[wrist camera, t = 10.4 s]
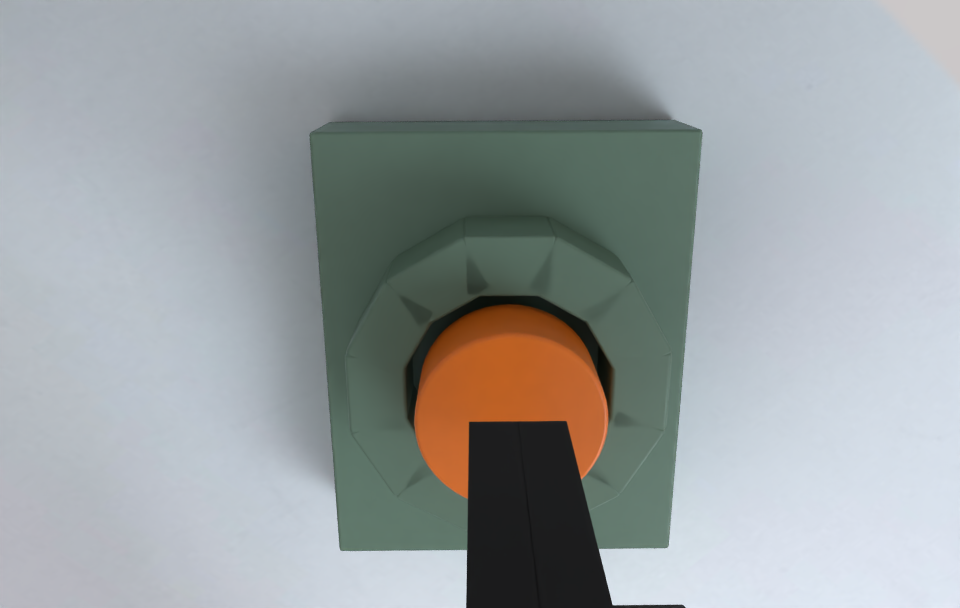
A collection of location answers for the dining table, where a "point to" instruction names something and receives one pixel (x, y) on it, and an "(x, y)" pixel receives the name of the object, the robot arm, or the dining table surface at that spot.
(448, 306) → the control block
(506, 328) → the button
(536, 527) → the robot arm
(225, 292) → the dining table surface
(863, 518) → the dining table surface
